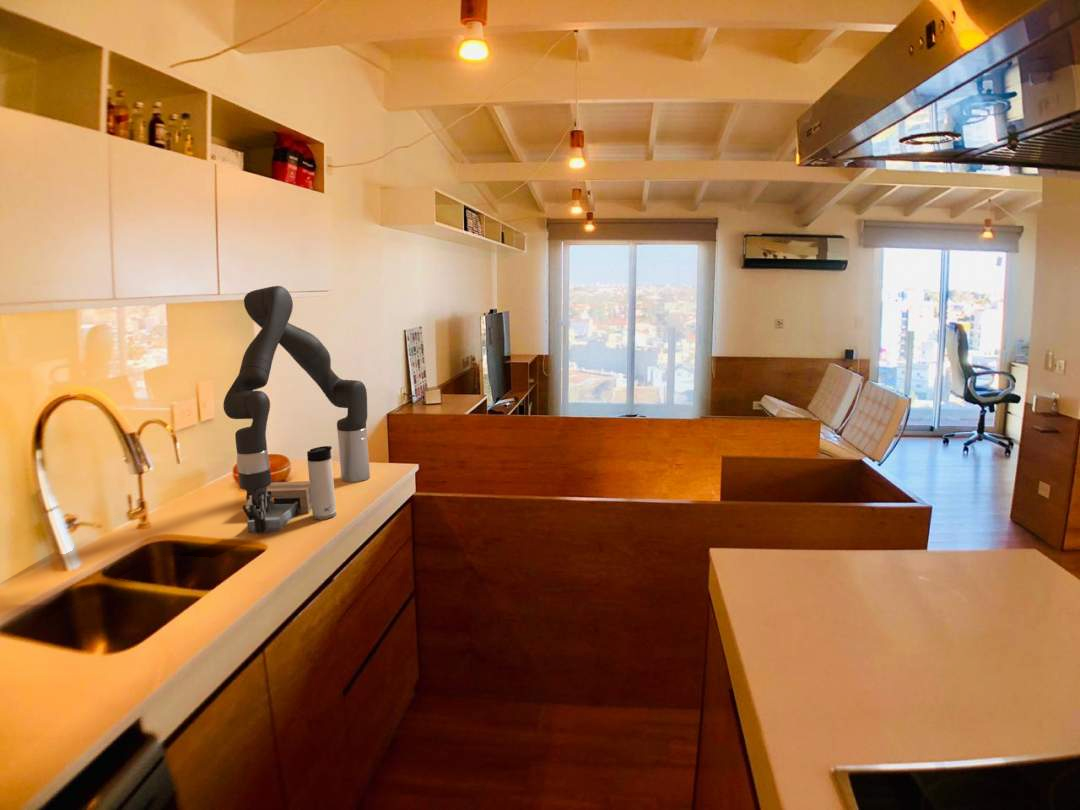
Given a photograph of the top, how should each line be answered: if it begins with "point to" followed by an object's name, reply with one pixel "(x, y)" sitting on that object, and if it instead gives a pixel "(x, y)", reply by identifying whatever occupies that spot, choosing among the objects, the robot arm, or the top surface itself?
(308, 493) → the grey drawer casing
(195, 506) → the top surface
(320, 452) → the travel mug
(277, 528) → the tray shell
